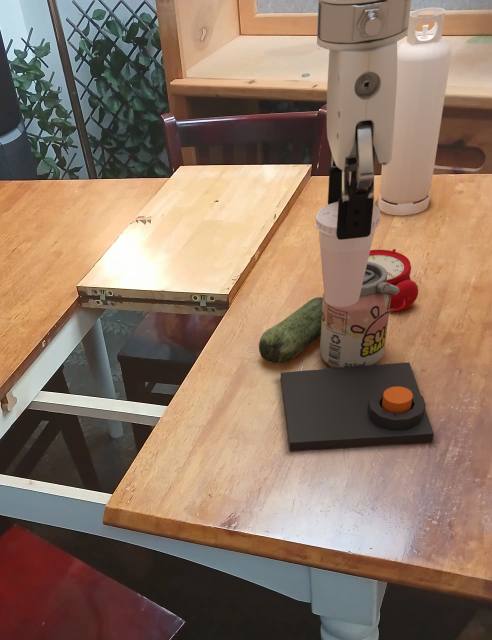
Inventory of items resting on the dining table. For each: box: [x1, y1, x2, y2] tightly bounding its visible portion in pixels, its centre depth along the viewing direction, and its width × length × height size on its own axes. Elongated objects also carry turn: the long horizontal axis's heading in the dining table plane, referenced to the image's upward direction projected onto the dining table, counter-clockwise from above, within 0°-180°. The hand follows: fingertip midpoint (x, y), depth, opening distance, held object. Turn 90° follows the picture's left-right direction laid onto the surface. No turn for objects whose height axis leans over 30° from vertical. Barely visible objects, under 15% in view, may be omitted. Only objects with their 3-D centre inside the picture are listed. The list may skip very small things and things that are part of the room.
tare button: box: [382, 386, 413, 413], centre depth 85 cm, size 3×3×2 cm
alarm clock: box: [368, 248, 419, 313], centre depth 105 cm, size 10×6×15 cm
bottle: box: [377, 7, 453, 216], centre depth 115 cm, size 8×8×28 cm
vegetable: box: [258, 296, 323, 365], centre depth 99 cm, size 14×5×5 cm, turn 133°
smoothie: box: [314, 172, 381, 307], centre depth 76 cm, size 6×6×14 cm
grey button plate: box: [279, 361, 435, 452], centre depth 89 cm, size 16×14×3 cm
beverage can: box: [319, 262, 399, 368], centre depth 93 cm, size 9×8×12 cm
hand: (348, 219), depth 75 cm, fingers closed on smoothie, 6 cm apart
